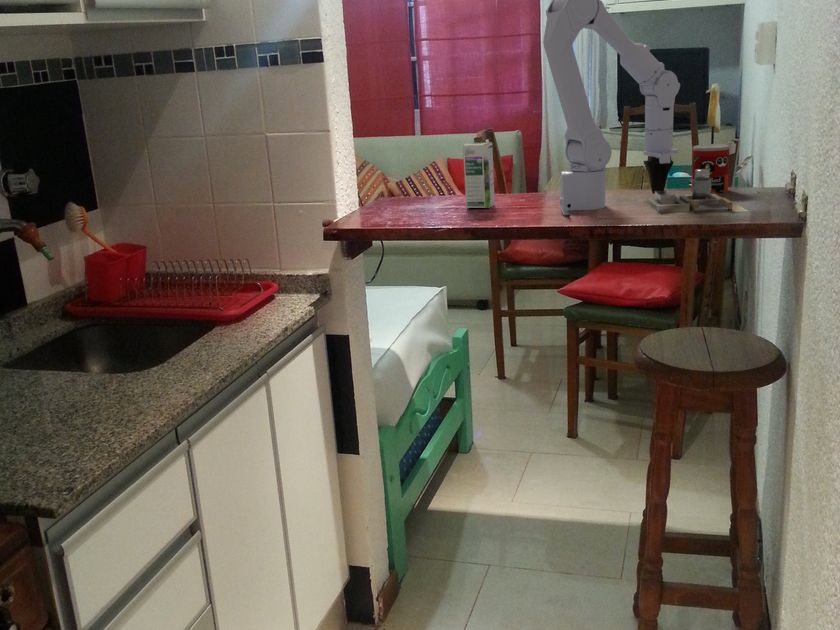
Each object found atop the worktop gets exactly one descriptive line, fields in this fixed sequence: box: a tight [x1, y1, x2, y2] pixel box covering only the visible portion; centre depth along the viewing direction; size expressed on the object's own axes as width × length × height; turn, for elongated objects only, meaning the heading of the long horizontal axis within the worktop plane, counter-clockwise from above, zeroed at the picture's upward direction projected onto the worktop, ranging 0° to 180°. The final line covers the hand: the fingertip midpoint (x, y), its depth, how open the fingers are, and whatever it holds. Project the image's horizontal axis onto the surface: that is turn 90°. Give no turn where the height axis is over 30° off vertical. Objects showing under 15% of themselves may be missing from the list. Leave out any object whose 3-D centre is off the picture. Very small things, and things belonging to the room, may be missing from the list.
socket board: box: [643, 194, 749, 216], centre depth 167 cm, size 17×17×3 cm
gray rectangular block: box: [654, 190, 677, 205], centre depth 170 cm, size 3×6×2 cm, turn 175°
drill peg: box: [691, 169, 711, 200], centre depth 167 cm, size 4×4×7 cm
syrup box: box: [462, 141, 495, 209], centre depth 186 cm, size 6×6×14 cm
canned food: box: [690, 143, 730, 195], centre depth 181 cm, size 8×8×11 cm
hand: (657, 193), depth 177 cm, fingers closed
